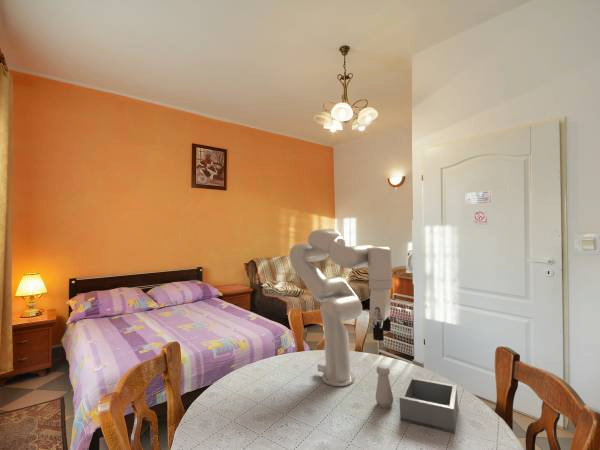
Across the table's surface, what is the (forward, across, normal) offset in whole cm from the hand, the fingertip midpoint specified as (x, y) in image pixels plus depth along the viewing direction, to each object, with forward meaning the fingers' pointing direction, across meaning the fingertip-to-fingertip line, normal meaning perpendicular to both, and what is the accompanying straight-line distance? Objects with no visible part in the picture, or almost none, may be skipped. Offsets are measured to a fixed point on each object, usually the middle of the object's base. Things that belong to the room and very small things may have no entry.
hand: (382, 335), depth 108 cm
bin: (+23, 0, +14) cm, 27 cm away
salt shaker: (+23, 0, 0) cm, 23 cm away
